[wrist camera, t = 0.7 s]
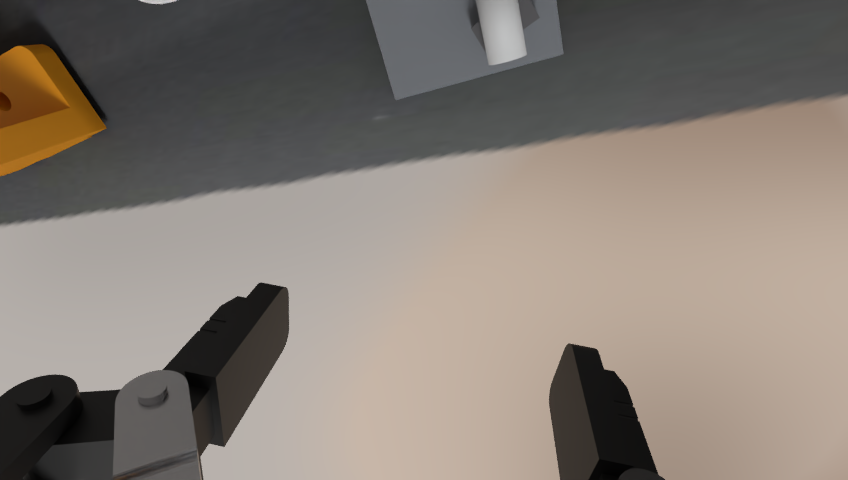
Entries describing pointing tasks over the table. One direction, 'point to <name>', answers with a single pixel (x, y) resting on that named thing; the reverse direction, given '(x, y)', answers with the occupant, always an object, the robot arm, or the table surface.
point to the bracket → (39, 108)
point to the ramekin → (157, 1)
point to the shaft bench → (461, 39)
